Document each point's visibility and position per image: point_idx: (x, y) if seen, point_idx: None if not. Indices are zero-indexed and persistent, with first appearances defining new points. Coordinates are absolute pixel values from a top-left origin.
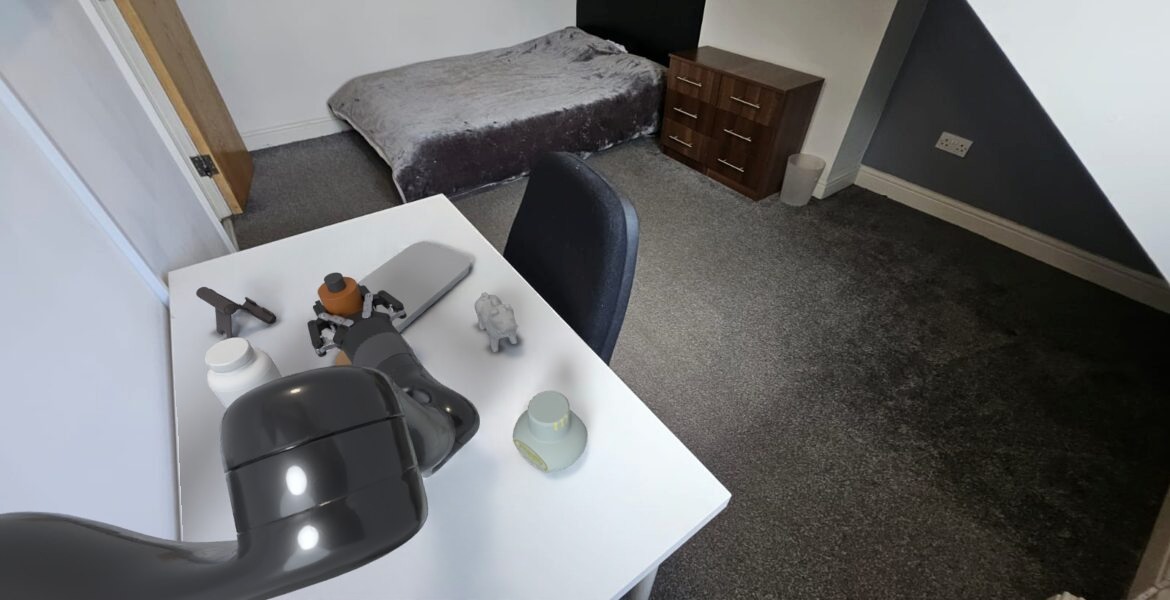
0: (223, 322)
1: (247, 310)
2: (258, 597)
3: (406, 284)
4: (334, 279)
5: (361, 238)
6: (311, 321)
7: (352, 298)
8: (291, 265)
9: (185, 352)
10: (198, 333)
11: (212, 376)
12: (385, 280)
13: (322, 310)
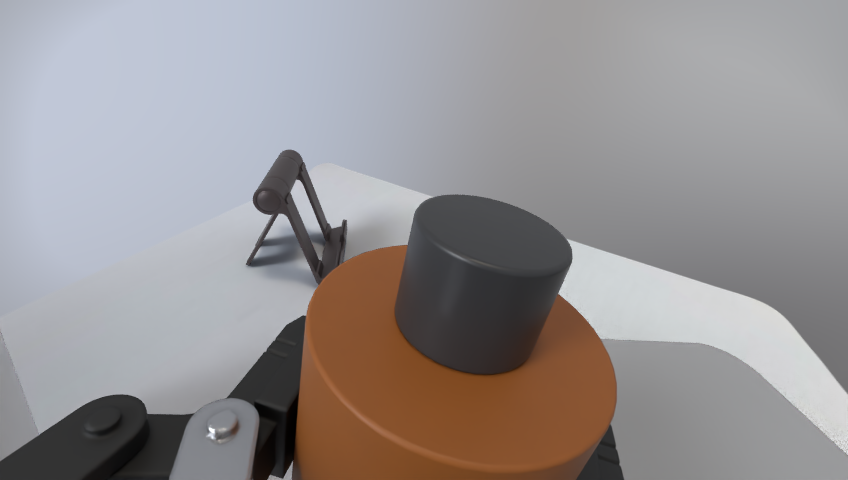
0: (266, 226)
1: (326, 240)
2: None
3: (659, 450)
4: (491, 244)
5: (586, 264)
6: (107, 416)
7: None
8: None
9: (191, 233)
10: (244, 223)
11: None
12: None
13: (276, 385)
